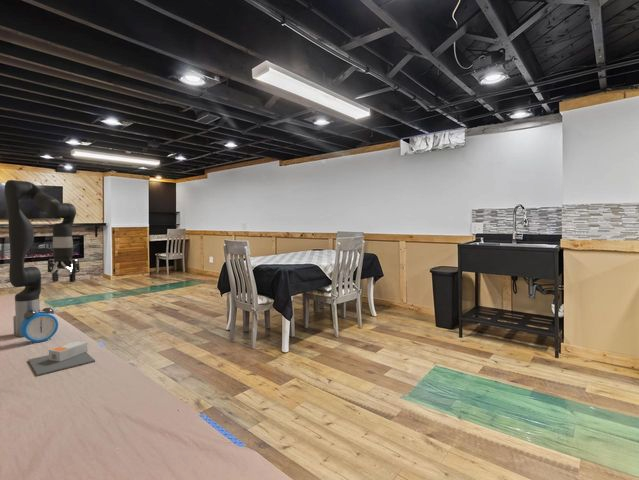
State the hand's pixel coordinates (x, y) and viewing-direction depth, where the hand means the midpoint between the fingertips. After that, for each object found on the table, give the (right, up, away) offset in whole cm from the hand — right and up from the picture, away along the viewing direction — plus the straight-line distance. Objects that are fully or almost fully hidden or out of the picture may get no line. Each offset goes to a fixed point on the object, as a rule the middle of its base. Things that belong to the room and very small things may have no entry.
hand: (63, 281), depth 159 cm
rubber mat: (+15, -29, -21) cm, 39 cm away
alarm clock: (-13, -28, +3) cm, 31 cm away
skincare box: (+13, -27, -23) cm, 37 cm away
